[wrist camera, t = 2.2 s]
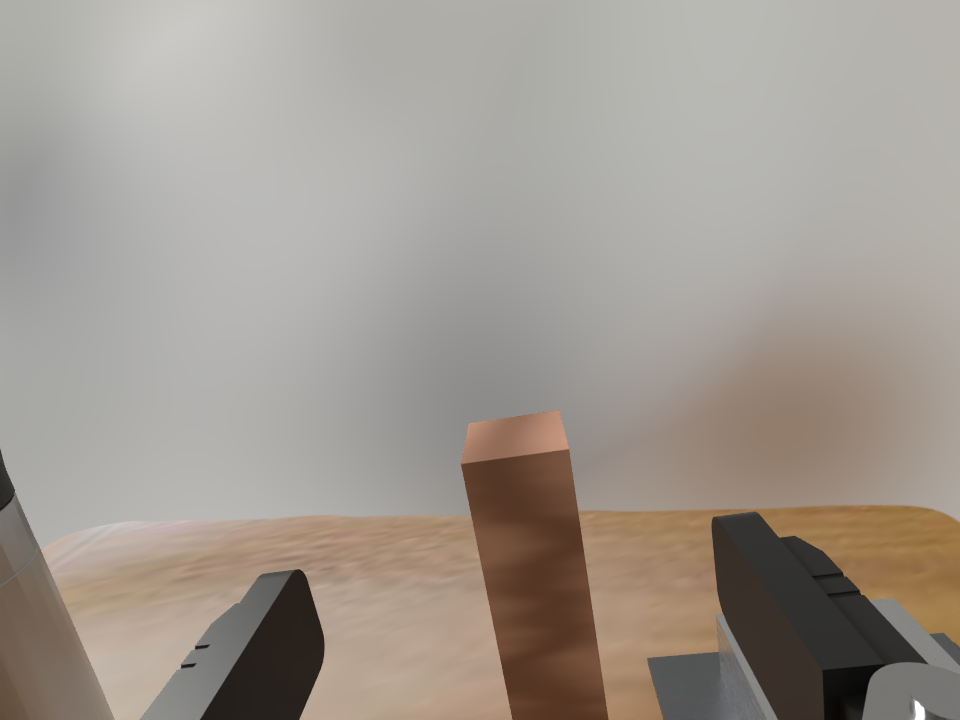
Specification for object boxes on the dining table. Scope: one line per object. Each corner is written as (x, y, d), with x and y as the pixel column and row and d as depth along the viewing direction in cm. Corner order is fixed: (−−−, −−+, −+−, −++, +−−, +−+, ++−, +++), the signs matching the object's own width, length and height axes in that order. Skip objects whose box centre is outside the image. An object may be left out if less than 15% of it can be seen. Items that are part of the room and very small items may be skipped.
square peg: (533, 823, 24) (461, 463, 20) (530, 740, 28) (469, 423, 24) (622, 816, 24) (568, 448, 20) (607, 733, 28) (559, 410, 23)
